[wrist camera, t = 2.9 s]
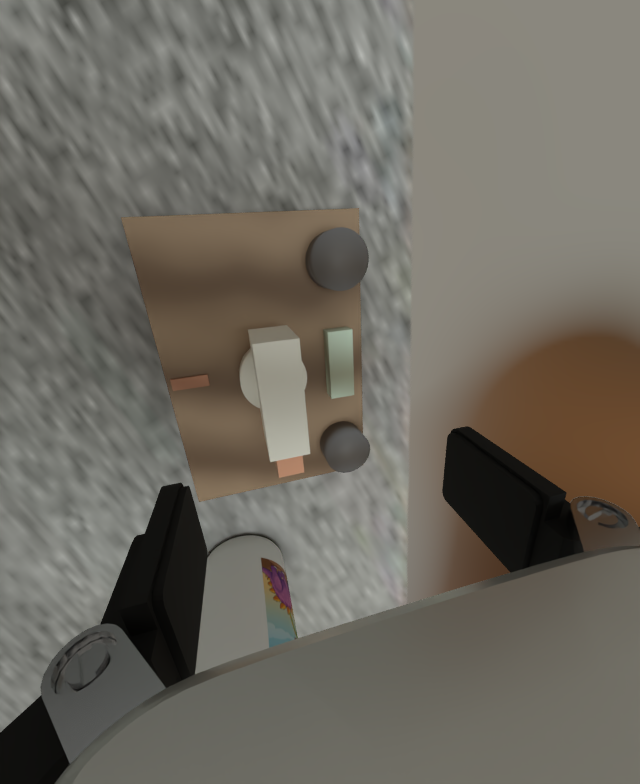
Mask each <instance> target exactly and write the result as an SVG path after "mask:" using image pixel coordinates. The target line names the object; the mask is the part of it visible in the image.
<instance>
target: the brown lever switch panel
mask: <svg viewBox="0 0 640 784" xmlns="http://www.w3.org/2000/svg"><path fill="white" fill-rule="evenodd" d="M121 219H122V223H123V227H124V230H125V234H126V237H127V241H128V245H129V248H130V252H131V256H132V259H133V263H134V267H135V270H136V274H137V277H138V281H139V285H140V288H141V292H142V296H143V299H144V303H145V307H146V310H147V314H148V318H149V321H150V325H151V328H152V332H153V336H154V339H155V343H156V347H157V350H158V354H159V358H160V361H161V365H162V369H163V372H164V376H165V379H166V383H167V387H168V390H169V394H170V398H171V401H172V405H173V409H174V412H175V416H176V419H177V423H178V427H179V430H180V434H181V438H182V441H183V445H184V449H185V452H186V456H187V460H188V463H189V467H190V470H191V474H192V478H193V481H194V485H195V489H196V492H197V496H198V500H199V502H201V501H205V500H210V499H214V498H218V497H223V496H227V495H232V494H236V493H241V492H245V491H250V490H254V489H259V488H263V487H268V486H272V485H277V484H281V483H285V482H290V481H294V480H299V479H303V478H308V477H312V476H317V475H321V474H326V473H330V472H335V471H337V472H343V473H345V472H351V471H354V470H356V469H358V468H359V467H360V466H362V465H363V464H364V463H365V461H366V460H367V458H368V456H369V452H370V445H369V442H368V440H367V439H366V438H365V436H364V435H363V422H362V364H361V305H360V281H361V280H362V278H363V277H364V275H365V273H366V270H367V267H368V259H369V257H368V250H367V247H366V244H365V242H364V240H363V239H362V238H361V236H360V235H359V208H354V209H328V210H302V211H276V212H250V213H224V214H198V215H173V216H147V217H121ZM283 325H287V326H288V327H289V328H290V329H291V330H292V331H293V332H294V333H295V334H296V335H297V336H298V337H299V338H300V349H301V359H302V362H303V364H304V366H305V369H306V372H307V384H306V388H305V390H304V391H305V402H306V413H307V423H308V434H309V445H310V454H307V455H303V464H304V473H299V474H295V475H290V476H286V477H281V478H279V475H278V471H277V467H276V463H275V461H274V462H270V459H269V454H268V449H267V444H266V439H265V435H264V430H263V423H262V417H261V411H260V408H258V407H256V406H254V405H253V404H251V403H250V402H249V401H248V400H247V399H246V397H245V396H244V394H243V392H242V389H241V385H240V374H239V368H240V363H241V360H242V358H243V356H244V355H245V353H246V352H247V351H248V350H249V349H250V348H251V347H250V340H249V334H248V330H249V329H257V328H266V327H275V326H283Z"/></svg>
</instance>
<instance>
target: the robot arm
mask: <svg viewBox="0 0 640 784" xmlns="http://www.w3.org/2000/svg"><path fill="white" fill-rule="evenodd" d="M443 496H444V498H445V500H446V501H447V502H448V504H449V505H450V506H451V507H452V508H453V509H454V510H455V511H456V512H457V514H458V515H459V516H460V517H461V518H462V519H463V520H464V521H465V522H466V524H467V525H468V526H469V527H470V528H471V529H472V530H473V531H474V532H475V533H476V535H478V537H479V538H480V539H481V540H482V541H483V542H484V544H485V545H486V546H487V547H488V548H489V549H490V550H491V551H492V552H493V554H494V555H495V556H496V557H497V558H498V559H499V560H500V561H501V562H502V564H503V565H504V566H505V567H506V568H507V569H508V570H509V571H510V572H511V573H509V574H505V575H501V576H498V577H495V578H492V579H488V580H485V581H482V582H479V583H475V584H472V585H468V586H465V587H462V588H458V589H455V590H452V591H449V592H446V593H442V594H439V595H436V596H432V597H429V598H426V599H423V600H419V601H416V602H413V603H410V604H406V605H403V606H400V607H397V608H393V609H390V610H387V611H384V612H380V613H377V614H374V615H371V616H368V617H364V618H361V619H358V620H355V621H352V622H349V623H345V624H342V625H339V626H336V627H333V628H329V629H326V630H323V631H320V632H317V633H314V634H310V635H307V636H304V637H301V638H298V639H295V640H291V641H288V642H285V643H282V644H279V645H276V646H273V647H270V648H267V649H264V650H261V651H258V652H255V653H252V654H249V655H246V656H243V657H240V658H237V659H234V660H231V661H228V662H226V663H223V664H220V665H218V666H215V667H213V668H210V669H208V670H205V671H202V672H200V673H197V674H195V670H196V661H197V651H198V642H199V632H200V623H201V614H202V604H203V595H204V585H205V576H206V567H207V548H206V544H205V540H204V537H203V533H202V530H201V526H200V522H199V519H198V515H197V512H196V508H195V504H194V501H193V497H192V494H191V490H190V487H189V486H185V487H184V486H183V484H182V483H177V484H172V485H167V486H163V487H162V488H161V490H160V493H159V495H158V498H157V501H156V504H155V507H154V510H153V512H152V515H151V518H150V521H149V524H148V527H147V529H146V532H145V534H142V535H137V536H136V537H135V538H134V540H133V542H132V544H131V547H130V550H129V552H128V555H127V557H126V560H125V562H124V565H123V568H122V570H121V573H120V575H119V578H118V580H117V583H116V586H115V588H114V591H113V593H112V596H111V598H110V601H109V604H108V606H107V609H106V611H105V614H104V616H103V619H102V622H101V624H100V625H96V626H94V627H92V628H90V629H87V630H85V631H83V632H82V633H80V634H79V635H77V636H76V637H74V638H73V639H72V640H71V641H70V642H68V643H67V644H66V645H65V646H64V647H63V648H62V649H61V650H60V651H59V652H58V654H57V655H56V656H55V657H54V659H53V660H52V661H51V663H50V664H49V666H48V668H47V670H46V672H45V673H44V676H43V680H42V683H41V696H40V697H39V698H38V699H37V700H36V701H35V702H33V703H32V704H31V705H30V706H29V707H28V708H27V709H26V710H25V711H24V712H23V713H21V714H20V715H19V716H18V717H17V718H16V719H15V720H14V721H13V722H12V723H11V724H9V725H8V726H7V727H6V728H5V729H4V730H3V731H2V732H1V733H0V784H640V527H638V526H637V524H636V522H635V520H634V519H633V518H632V516H631V515H630V514H629V513H627V512H626V511H625V510H624V509H622V508H620V507H619V506H617V505H615V504H613V503H610V502H608V501H605V500H602V499H598V498H595V497H587V496H586V497H585V496H584V497H577V498H574V499H573V500H572V501H571V503H569V502H567V501H566V500H565V497H566V492H565V491H563V490H562V489H560V488H559V487H557V486H556V485H555V484H553V483H552V482H550V481H549V480H547V479H546V478H544V477H543V476H541V475H540V474H538V473H537V472H535V471H534V470H532V469H531V468H529V467H528V466H526V465H525V464H524V463H522V462H521V461H519V460H518V459H516V458H515V457H513V456H512V455H510V454H509V453H507V452H506V451H504V450H503V449H501V448H500V447H498V446H497V445H496V444H494V443H493V442H491V441H490V440H488V439H487V438H485V437H484V436H482V435H481V434H479V433H478V432H476V431H475V430H473V429H472V428H470V427H461V428H456V429H453V430H452V431H451V434H449V435H448V438H447V447H446V458H445V469H444V480H443Z"/></svg>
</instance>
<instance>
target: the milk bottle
mask: <svg viewBox="0 0 640 784" xmlns="http://www.w3.org/2000/svg"><path fill="white" fill-rule="evenodd" d="M295 639H298V637H297V631H296V626H295V620H294V614H293V609H292V603H291V598H290V592H289V587H288V581H287V576H286V571H285V566H284V561H283V557H282V553H281V551H280V549H279V548H278V547H277V546H276V545H275V544H274V543H273V542H272V541H270V540H269V539H267V538H264V537H261V536H255V535H245V536H240V537H236V538H233V539H230V540H228V541H226V542H224V543H222V544H221V545H219V546H218V547H216V548H215V549H214V550H213V551H212V552H211V554H210V555H209V556H208V558H207V567H206V576H205V585H204V595H203V604H202V614H201V623H200V632H199V642H198V651H197V661H196V670H195V674H197V673H200V672H202V671H205V670H208V669H210V668H213V667H215V666H218V665H220V664H223V663H226V662H228V661H231V660H234V659H237V658H240V657H243V656H246V655H249V654H252V653H255V652H258V651H261V650H264V649H267V648H270V647H273V646H276V645H279V644H282V643H285V642H288V641H291V640H295Z"/></svg>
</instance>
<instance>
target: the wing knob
mask: <svg viewBox="0 0 640 784" xmlns="http://www.w3.org/2000/svg"><path fill="white" fill-rule="evenodd" d="M248 334H249V340H250V347H251V348H250V349H249V350H248V351H247V352H246V353H245V355H244V356H243V358H242V360H241V363H240V368H239V374H240V385H241V389H242V392H243V394H244V396H245V397H246V399H247V400H248V401H249V402H250V403H251V404H253V405H254V406H256V407H258V408H260V411H261V417H262V423H263V430H264V435H265V439H266V444H267V449H268V454H269V459H270V462H274V461H275V463H276V467H277V471H278V475H279V478H281V477H286V476H290V475H295V474H299V473H304V464H303V455H307V454H310V445H309V434H308V423H307V413H306V402H305V391H304V390H305V388H306V384H307V372H306V369H305V366H304V364H303V362H302V359H301V349H300V338H299V337H298V336H297V335H296V334H295V333H294V332H293V331H292V330H291V329H290V328H289V327H288V326H287V325H283V326H275V327H266V328H257V329H249V330H248Z"/></svg>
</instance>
